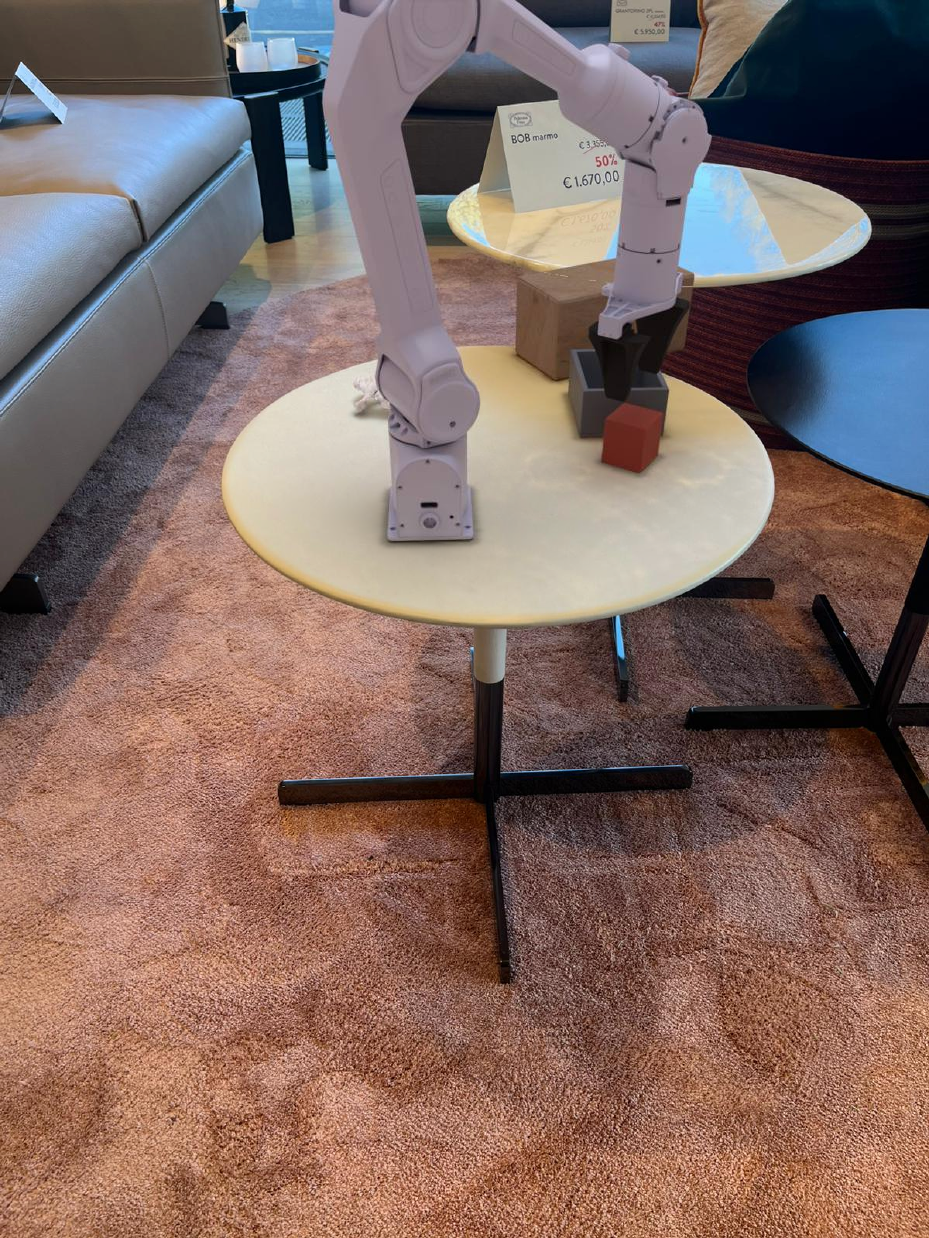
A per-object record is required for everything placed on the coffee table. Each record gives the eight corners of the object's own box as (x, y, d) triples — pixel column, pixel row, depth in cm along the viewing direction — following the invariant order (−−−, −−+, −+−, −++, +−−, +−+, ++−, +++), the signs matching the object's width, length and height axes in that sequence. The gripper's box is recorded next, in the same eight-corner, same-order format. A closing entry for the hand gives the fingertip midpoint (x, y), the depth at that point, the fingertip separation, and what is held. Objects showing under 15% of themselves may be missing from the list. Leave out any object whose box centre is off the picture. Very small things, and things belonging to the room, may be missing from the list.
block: (658, 455, 98) (664, 412, 95) (639, 473, 95) (645, 429, 92) (619, 445, 100) (624, 402, 97) (600, 462, 97) (604, 418, 94)
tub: (663, 436, 102) (669, 389, 98) (579, 437, 101) (583, 391, 98) (644, 392, 110) (650, 348, 107) (567, 393, 110) (570, 349, 107)
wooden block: (515, 275, 113) (647, 250, 121) (513, 353, 120) (639, 325, 127) (559, 300, 107) (696, 272, 114) (554, 382, 113) (685, 350, 120)
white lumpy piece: (422, 363, 108) (420, 382, 103) (422, 398, 111) (421, 419, 105) (353, 363, 108) (348, 382, 103) (355, 398, 110) (350, 419, 105)
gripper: (642, 218, 91) (627, 351, 99) (572, 258, 81) (563, 401, 90) (710, 229, 88) (689, 366, 96) (646, 272, 78) (629, 419, 87)
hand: (632, 384), depth 93 cm, fingers open, 7 cm apart
